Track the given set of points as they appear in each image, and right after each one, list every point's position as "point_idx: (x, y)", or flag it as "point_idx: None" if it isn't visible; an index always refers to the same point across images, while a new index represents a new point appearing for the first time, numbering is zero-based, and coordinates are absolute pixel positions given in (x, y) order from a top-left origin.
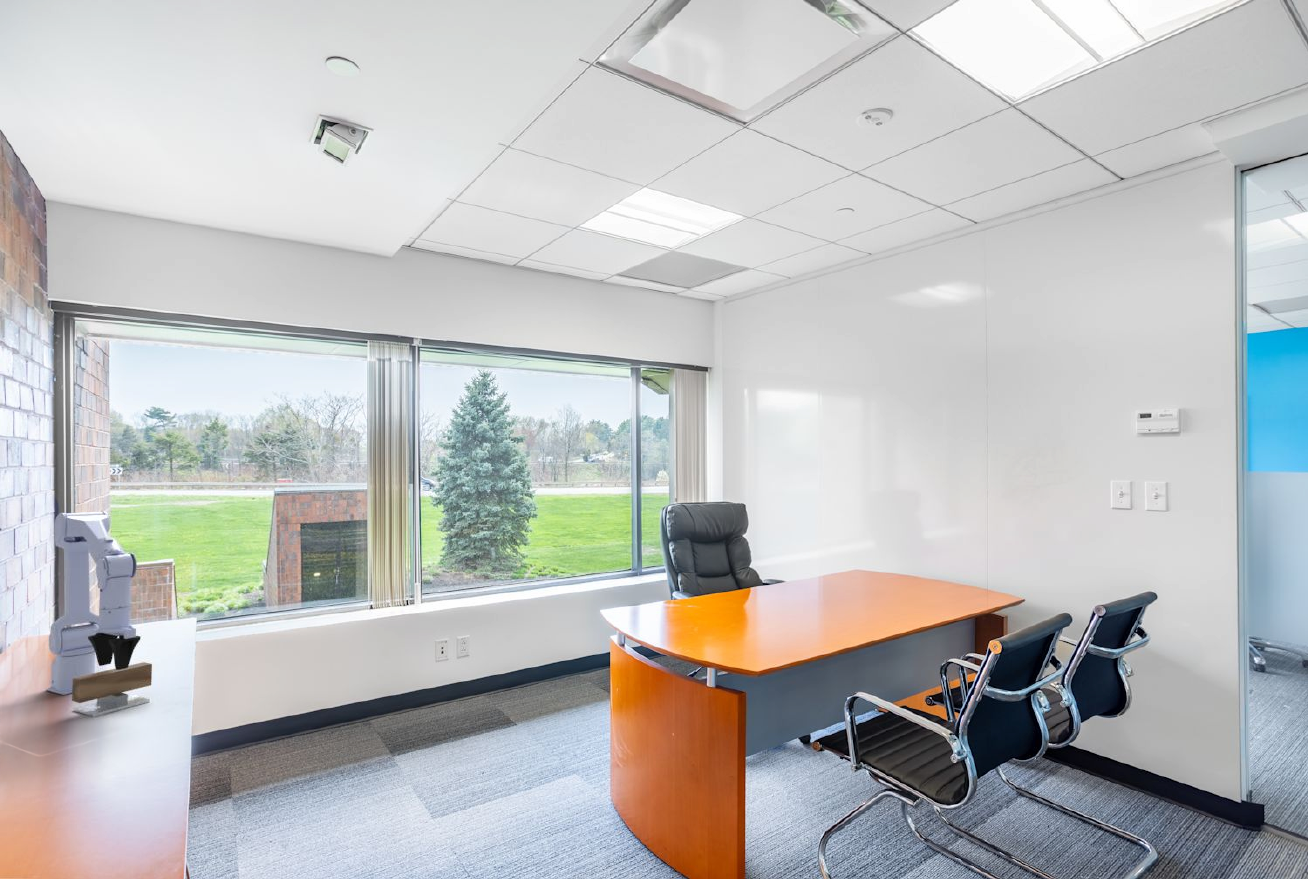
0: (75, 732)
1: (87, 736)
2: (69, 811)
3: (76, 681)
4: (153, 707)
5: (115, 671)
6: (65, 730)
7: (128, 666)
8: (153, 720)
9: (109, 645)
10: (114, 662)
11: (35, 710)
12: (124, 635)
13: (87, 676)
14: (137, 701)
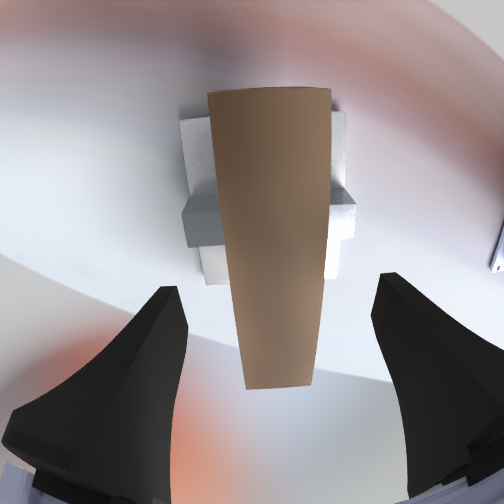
0: (70, 54)
1: (17, 79)
2: None
3: (269, 88)
4: (144, 264)
5: (244, 287)
6: (115, 32)
7: (297, 344)
8: (30, 221)
9: (412, 403)
10: (158, 311)
11: (464, 78)
12: (12, 486)
13: (273, 154)
14: (212, 258)
